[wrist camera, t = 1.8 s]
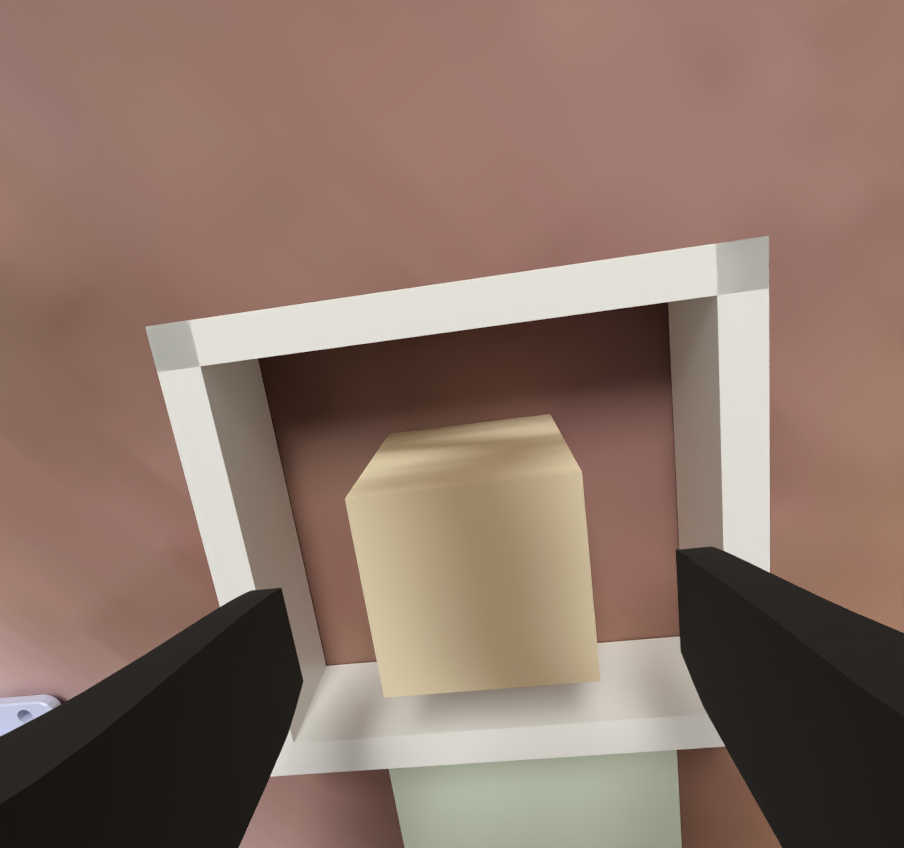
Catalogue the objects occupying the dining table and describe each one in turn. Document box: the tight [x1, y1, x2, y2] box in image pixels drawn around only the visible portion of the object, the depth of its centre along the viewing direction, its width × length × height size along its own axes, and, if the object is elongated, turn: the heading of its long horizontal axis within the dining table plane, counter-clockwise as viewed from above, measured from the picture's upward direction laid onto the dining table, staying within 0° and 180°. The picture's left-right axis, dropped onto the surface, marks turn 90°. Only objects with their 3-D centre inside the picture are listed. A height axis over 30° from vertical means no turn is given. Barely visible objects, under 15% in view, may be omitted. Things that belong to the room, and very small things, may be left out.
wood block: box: [345, 414, 600, 698], centre depth 13 cm, size 4×4×5 cm
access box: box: [145, 236, 770, 776], centre depth 14 cm, size 13×12×3 cm
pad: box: [389, 750, 682, 848], centre depth 18 cm, size 9×9×1 cm
